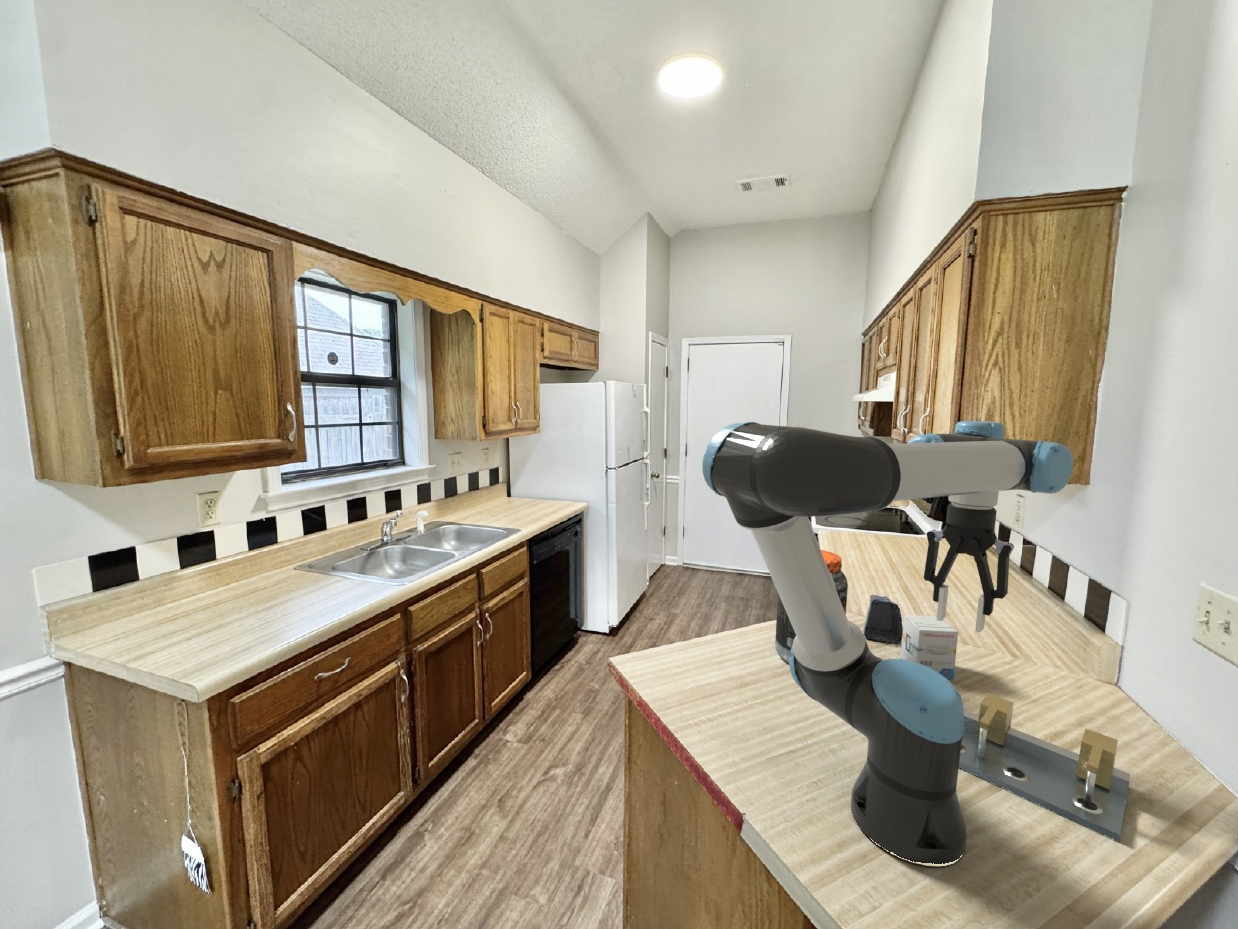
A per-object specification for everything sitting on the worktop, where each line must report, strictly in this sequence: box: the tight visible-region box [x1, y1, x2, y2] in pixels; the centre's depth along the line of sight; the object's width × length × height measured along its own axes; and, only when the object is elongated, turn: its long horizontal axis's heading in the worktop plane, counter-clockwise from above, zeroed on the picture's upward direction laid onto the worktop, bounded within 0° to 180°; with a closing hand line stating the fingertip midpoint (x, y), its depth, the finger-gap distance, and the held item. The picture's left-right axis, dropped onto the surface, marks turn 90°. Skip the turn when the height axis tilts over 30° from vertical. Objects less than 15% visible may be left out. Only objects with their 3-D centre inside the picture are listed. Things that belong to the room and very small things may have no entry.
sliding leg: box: [977, 693, 1014, 756], centre depth 94 cm, size 12×4×6 cm, turn 132°
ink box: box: [900, 614, 959, 680], centre depth 122 cm, size 9×8×12 cm
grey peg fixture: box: [959, 709, 1131, 843], centre depth 90 cm, size 16×26×8 cm, turn 42°
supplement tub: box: [774, 549, 849, 664], centre depth 126 cm, size 16×16×26 cm
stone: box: [862, 594, 903, 645], centre depth 139 cm, size 12×10×10 cm
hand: (959, 623), depth 99 cm, fingers open, 6 cm apart
